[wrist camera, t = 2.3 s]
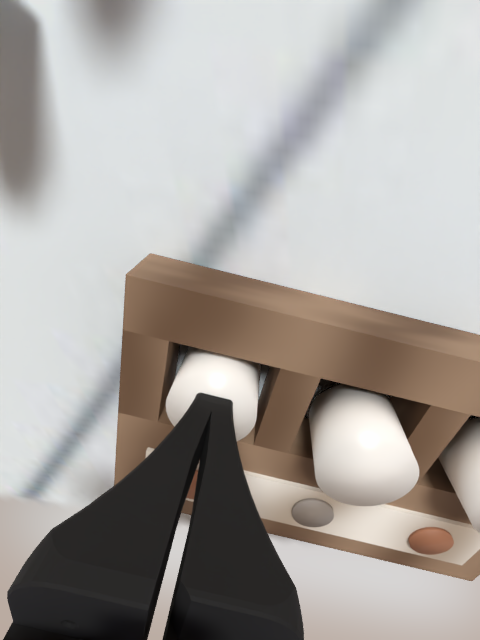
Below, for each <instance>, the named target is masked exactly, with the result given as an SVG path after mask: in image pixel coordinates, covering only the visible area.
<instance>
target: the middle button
mask: <svg viewBox="0 0 480 640" xmlns="http://www.w3.org/2000/svg"><path fill="white" fill-rule="evenodd" d="M309 424H310V433H311V442H312V451H313V460H314V470H315V478H316V482H317V484H318V486H319V487H320V489H321V490H322V491H323V492H324V493H325V494H326V495H327V496H329V497H330V498H332V499H334V500H336V501H339V502H341V503H344V504H348V505H353V506H377V505H382V504H387V503H390V502H393V501H395V500H397V499H399V498H401V497H403V496H404V495H406V494H407V493H408V492H410V491H411V490H412V488H413V487H414V486H415V484H416V483H417V481H418V478H419V466H418V463H417V461H416V459H415V456H414V454H413V452H412V449H411V447H410V445H409V442H408V440H407V438H406V435H405V433H404V431H403V429H402V426H401V424H400V422H399V419H398V417H397V415H396V412H395V410H394V408H393V405H392V403H391V401H390V399H389V398H388V397H387V396H386V395H385V394H383V393H379V392H375V391H371V390H367V389H363V388H359V387H355V386H350V385H346V384H341V385H337V386H334V387H331V388H329V389H327V390H325V391H324V392H322V393H321V394H320V395H318V396H317V397H316V399H315V400H314V401H313V403H312V405H311V407H310V410H309Z"/></svg>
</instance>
